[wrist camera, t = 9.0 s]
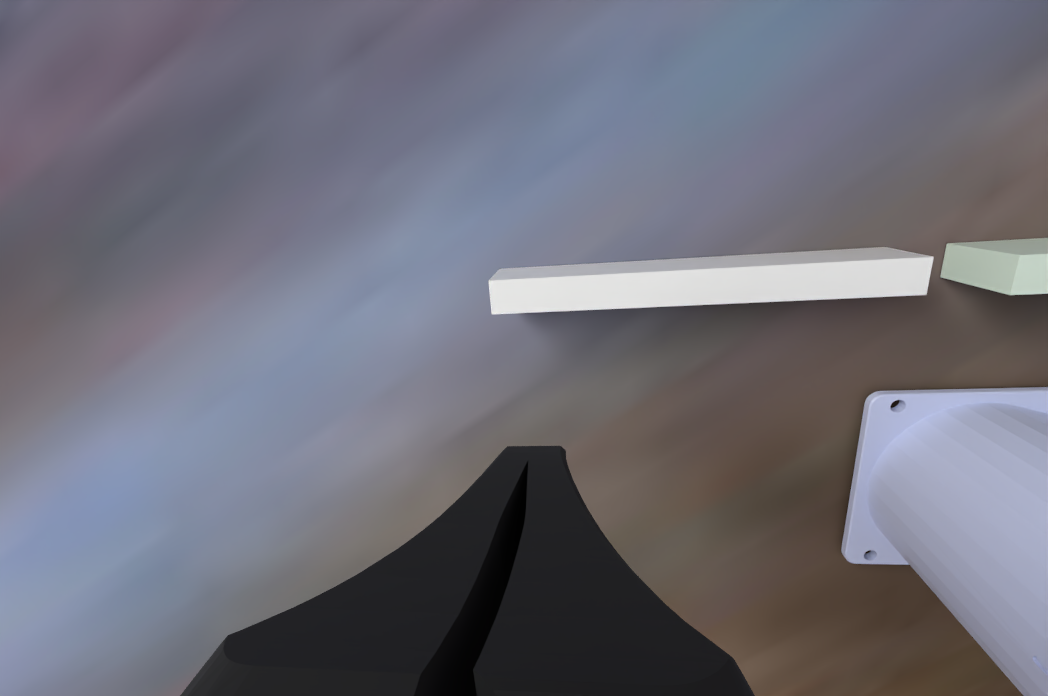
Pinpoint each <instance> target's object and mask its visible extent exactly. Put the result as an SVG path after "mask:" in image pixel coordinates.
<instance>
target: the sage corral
mask: <svg viewBox="0 0 1048 696" xmlns="http://www.w3.org/2000/svg"><path fill="white" fill-rule="evenodd" d="M940 277H941V278H945V279H949V280H953V281H957V282H961V283H964V284H968V285H972V286H976V287H980V288H984V289H988V290H992V291H996V292H999V293H1003V294H1007V295H1026V294H1048V238H1035V239H1017V240H999V241H982V242H964V243H947V245H946V250H945V256H944V261H943V266H942V271H941V276H940Z"/></svg>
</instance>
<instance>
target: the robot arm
mask: <svg viewBox="0 0 1048 696" xmlns="http://www.w3.org/2000/svg"><path fill="white" fill-rule="evenodd" d="M896 400H899V403H898V405H897V406H895V407H893V408H891V407H890V406H891V404H892V403H893V402H894V401H896ZM870 550H871V551H870ZM867 551H870V552H869V553H866V554H865V552H867ZM841 552H842V554H843V555H844V557H845V558H846V560H847V561H848V562H850V563H854V564H897V565H910V566H911V567H912V568H913V569H914V570H915V572H916V573H917V574H918V575H919V576H920V577H921V578H922V580H923V581H924V582H925V583H926V584H927V585H928V586H929V588H930V589H931V590H932V591H933V592H934V593H935V594H936V596H937V597H938V598H939V599H940V600H941V601H942V603H943V604H944V605H945V606H946V607H947V608H948V609H949V611H950V612H951V613H952V614H953V615H954V616H955V617H956V619H957V620H958V621H959V622H960V623H961V624H962V626H963V627H964V628H965V629H966V630H967V631H968V632H969V634H970V635H971V636H972V637H973V638H974V639H975V640H976V642H977V643H978V644H979V645H980V646H981V647H982V648H983V650H984V651H985V652H986V653H987V654H988V655H989V657H990V658H991V659H992V660H993V661H994V662H995V663H996V665H997V666H998V667H999V668H1000V669H1001V670H1002V671H1003V673H1004V674H1005V675H1006V676H1007V677H1008V678H1009V680H1010V681H1011V682H1012V683H1013V684H1014V685H1015V686H1016V688H1017V689H1018V690H1019V691H1020V692H1021V693H1022V694H1023V696H1048V387H1028V388H984V389H940V390H896V391H877V392H874V393H872V394H870V395H869V396H868V397H867V398H866V401H865V404H864V411H863V417H862V423H861V429H860V436H859V442H858V448H857V454H856V460H855V467H854V473H853V479H852V485H851V492H850V498H849V504H848V510H847V517H846V523H845V529H844V535H843V542H842V548H841ZM180 696H754V694H753V692H752V690H751V688H750V686H749V685H748V683H747V681H746V679H745V677H744V676H743V674H742V672H741V670H740V669H739V667H738V665H737V664H736V662H735V660H734V659H733V658H732V657H731V656H730V655H729V654H727V653H726V652H725V651H723V650H722V649H721V648H719V647H718V646H717V645H715V644H714V643H713V642H711V641H710V640H709V639H707V638H706V637H705V636H703V635H702V634H701V633H700V632H698V631H697V630H696V629H694V628H693V627H692V626H690V625H689V624H688V623H686V622H685V621H684V620H683V619H681V618H680V617H679V616H678V615H677V614H676V613H675V612H674V611H672V610H671V609H670V608H669V607H668V606H667V605H666V604H665V603H664V602H663V601H662V600H661V599H660V598H659V597H658V596H657V595H656V594H655V593H654V592H653V591H652V590H651V589H650V588H649V587H648V586H647V585H646V584H645V583H644V582H643V581H642V580H641V579H640V578H639V577H638V576H637V575H636V574H635V573H634V572H633V571H632V569H631V568H630V567H629V566H628V565H627V564H626V562H625V561H624V560H623V559H622V558H621V556H620V555H619V554H618V553H617V551H616V550H615V549H614V547H613V546H612V545H611V544H610V542H609V541H608V540H607V538H606V537H605V535H604V534H603V532H602V531H601V530H600V528H599V527H598V525H597V523H596V522H595V520H594V519H593V517H592V515H591V514H590V512H589V510H588V509H587V507H586V505H585V503H584V501H583V500H582V498H581V496H580V494H579V491H578V489H577V487H576V485H575V483H574V481H573V479H572V476H571V473H570V471H569V468H568V465H567V461H566V451H565V450H564V449H563V448H562V447H561V446H509V447H506V448H505V449H504V450H503V451H502V452H501V454H500V455H499V456H498V457H497V458H496V459H495V460H494V461H493V463H492V464H491V465H490V466H489V467H488V468H487V469H486V471H485V472H484V473H483V474H482V475H481V476H480V477H479V478H478V479H477V480H476V481H475V482H474V483H473V485H472V486H471V487H470V488H469V489H468V490H467V491H466V492H465V493H464V494H463V495H462V496H461V497H460V498H459V499H458V500H457V501H456V502H455V503H454V504H453V505H451V506H450V507H449V508H448V509H447V510H446V511H445V512H444V513H443V514H442V515H441V516H440V517H438V518H437V519H436V520H435V521H434V522H433V523H431V524H430V525H429V526H428V527H426V528H425V529H424V530H423V531H421V532H420V533H419V534H417V535H416V536H415V537H413V538H412V539H411V540H409V541H408V542H407V543H405V544H404V545H402V546H401V547H400V548H398V549H397V550H395V551H394V552H392V553H390V554H389V555H387V556H386V557H384V558H383V559H381V560H379V561H378V562H376V563H375V564H373V565H372V566H370V567H368V568H367V569H365V570H364V571H362V572H361V573H359V574H357V575H355V576H354V577H352V578H350V579H348V580H346V581H345V582H343V583H341V584H339V585H337V586H336V587H334V588H332V589H330V590H328V591H326V592H324V593H322V594H320V595H318V596H316V597H314V598H312V599H310V600H308V601H306V602H304V603H302V604H300V605H298V606H296V607H294V608H291V609H289V610H287V611H285V612H282V613H280V614H278V615H275V616H273V617H271V618H268V619H266V620H264V621H261V622H259V623H257V624H255V625H252V626H250V627H248V628H245V629H243V630H240V631H238V632H235V633H233V634H230V635H228V636H227V637H226V638H225V640H224V641H223V642H222V643H221V644H220V646H219V647H218V648H217V649H216V651H215V652H214V653H213V654H212V656H211V657H210V658H209V660H208V661H207V662H206V663H205V665H204V666H203V667H202V669H201V670H200V671H199V672H198V674H197V675H196V676H195V678H194V679H193V680H192V681H191V683H190V684H189V685H188V687H187V688H186V689H185V690H184V692H183V693H182V694H181V695H180Z"/></svg>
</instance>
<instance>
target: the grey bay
mask: <svg viewBox="0 0 1048 696" xmlns="http://www.w3.org/2000/svg"><path fill="white" fill-rule="evenodd" d="M932 263H933V257H932V256H927V255H922V254H917V253H913V252H908V251H903V250H898V249H893V248H888V247H876V248H858V249H840V250H822V251H805V252H787V253H769V254H752V255H734V256H716V257H699V258H681V259H663V260H645V261H628V262H610V263H592V264H575V265H557V266H539V267H522V268H504V269H499V270H498V271H497V272H496V273H495V274H494V275H493V276H492V277H491V279H490V280H489V291H490V301H491V311H492V314H511V313H534V312H556V311H578V310H601V309H623V308H645V307H668V306H690V305H712V304H735V303H757V302H779V301H801V300H824V299H846V298H868V297H891V296H913V295H926V294H927V289H928V284H929V279H930V273H931V268H932Z"/></svg>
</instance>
